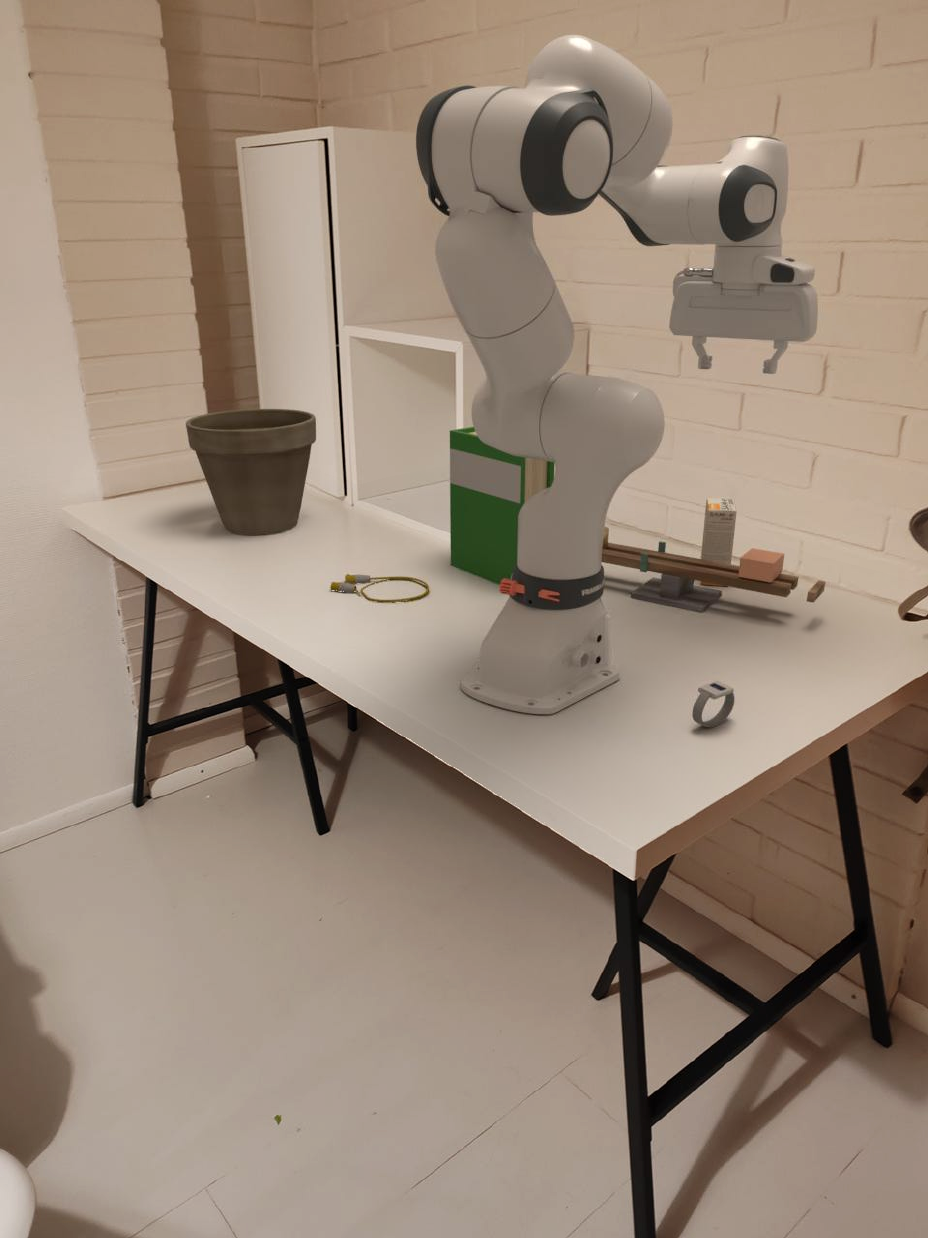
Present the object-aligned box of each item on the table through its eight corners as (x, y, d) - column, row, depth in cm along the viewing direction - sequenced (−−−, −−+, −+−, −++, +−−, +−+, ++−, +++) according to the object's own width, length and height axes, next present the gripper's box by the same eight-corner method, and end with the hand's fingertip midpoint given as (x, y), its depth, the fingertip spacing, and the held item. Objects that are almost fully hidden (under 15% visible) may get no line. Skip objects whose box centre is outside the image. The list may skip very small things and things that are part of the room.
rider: (769, 592, 144) (773, 563, 143) (737, 586, 147) (740, 557, 145) (780, 582, 149) (784, 553, 147) (748, 576, 151) (752, 548, 149)
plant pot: (187, 516, 200) (175, 411, 192) (302, 503, 210) (295, 403, 202) (211, 550, 179) (198, 434, 171) (337, 533, 189) (332, 423, 181)
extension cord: (373, 572, 169) (373, 561, 168) (444, 591, 160) (443, 580, 159) (324, 592, 160) (323, 580, 159) (395, 613, 151) (395, 601, 150)
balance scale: (806, 634, 141) (814, 576, 138) (544, 579, 164) (545, 528, 160) (822, 615, 148) (830, 559, 145) (568, 565, 171) (570, 516, 167)
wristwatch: (703, 736, 113) (707, 698, 111) (685, 727, 115) (689, 690, 113) (737, 722, 116) (742, 684, 114) (719, 713, 118) (724, 676, 117)
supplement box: (729, 587, 160) (737, 511, 155) (700, 585, 161) (707, 509, 156) (727, 571, 168) (735, 498, 163) (698, 569, 169) (705, 496, 164)
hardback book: (550, 582, 163) (555, 440, 154) (518, 592, 158) (521, 447, 149) (482, 557, 175) (483, 425, 166) (450, 565, 171) (449, 430, 162)
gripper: (666, 268, 135) (659, 368, 140) (815, 270, 125) (802, 379, 130) (682, 266, 140) (675, 363, 145) (827, 268, 130) (814, 372, 135)
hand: (736, 370), depth 138 cm, fingers open, 8 cm apart
